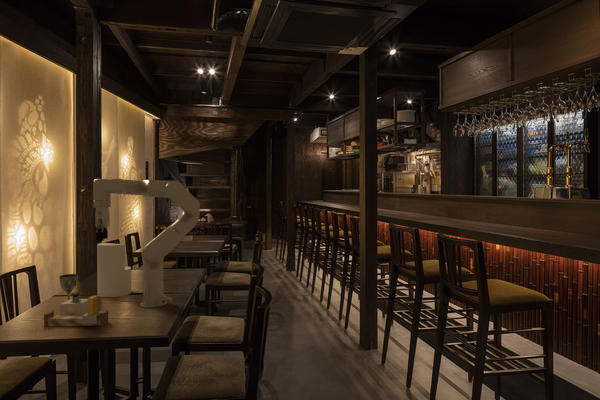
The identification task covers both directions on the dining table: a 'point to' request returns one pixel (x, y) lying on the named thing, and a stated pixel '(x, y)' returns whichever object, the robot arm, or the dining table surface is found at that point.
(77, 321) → the rail
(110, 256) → the cylinder
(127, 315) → the dining table surface
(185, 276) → the dining table surface
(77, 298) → the plunger
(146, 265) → the robot arm
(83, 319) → the carriage
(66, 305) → the housing
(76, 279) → the wine glass
